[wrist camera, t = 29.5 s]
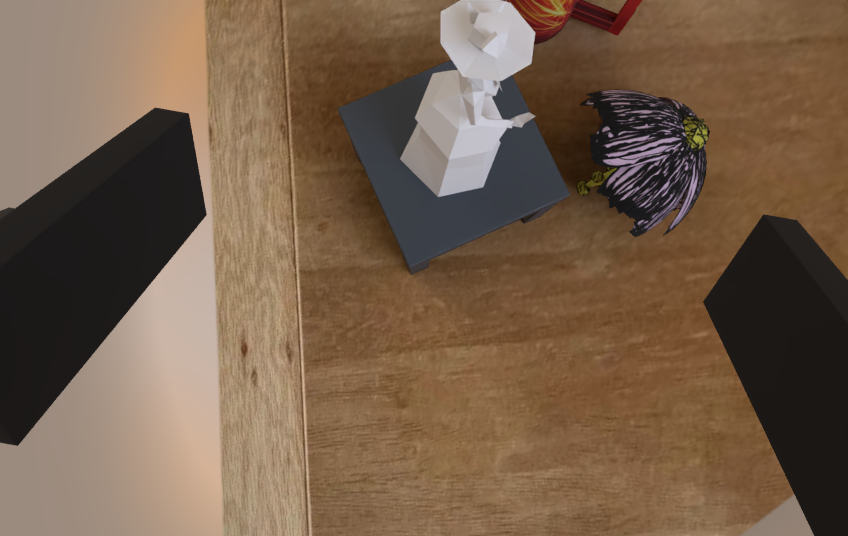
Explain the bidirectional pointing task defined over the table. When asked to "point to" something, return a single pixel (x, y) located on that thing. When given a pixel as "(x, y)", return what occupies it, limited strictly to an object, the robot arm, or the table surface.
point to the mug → (570, 15)
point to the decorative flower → (647, 156)
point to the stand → (461, 212)
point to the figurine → (468, 96)
